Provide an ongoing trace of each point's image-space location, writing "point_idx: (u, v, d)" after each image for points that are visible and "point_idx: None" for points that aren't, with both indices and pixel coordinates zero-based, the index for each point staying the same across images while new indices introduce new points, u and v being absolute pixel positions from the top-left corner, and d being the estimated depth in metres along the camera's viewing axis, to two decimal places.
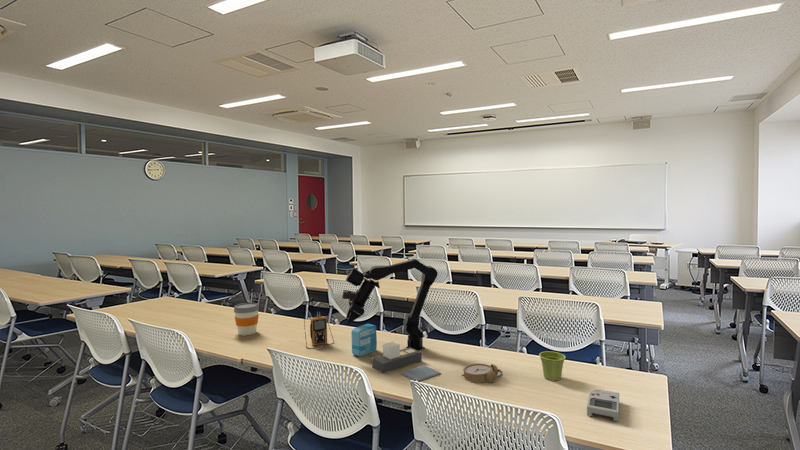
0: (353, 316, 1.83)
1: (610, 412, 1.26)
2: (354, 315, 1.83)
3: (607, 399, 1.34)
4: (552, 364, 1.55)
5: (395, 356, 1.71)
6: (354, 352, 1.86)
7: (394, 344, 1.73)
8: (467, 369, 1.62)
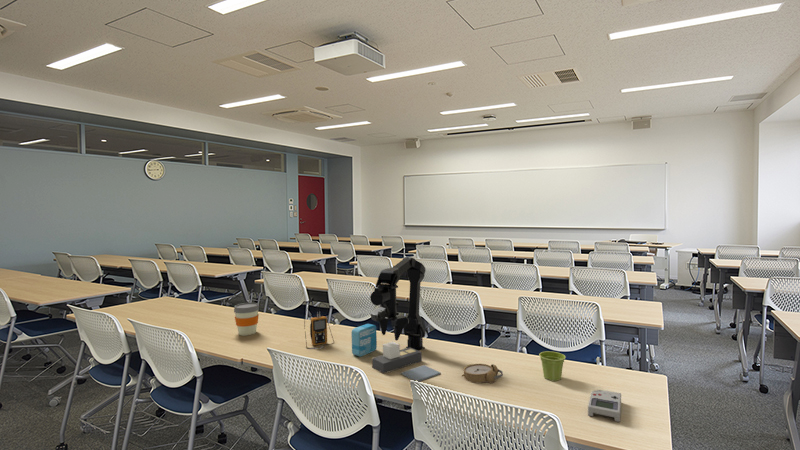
0: (398, 329, 1.68)
1: (612, 413, 1.26)
2: (399, 328, 1.68)
3: (609, 399, 1.33)
4: (552, 364, 1.55)
5: (395, 356, 1.71)
6: (354, 352, 1.86)
7: (394, 344, 1.73)
8: (467, 369, 1.62)
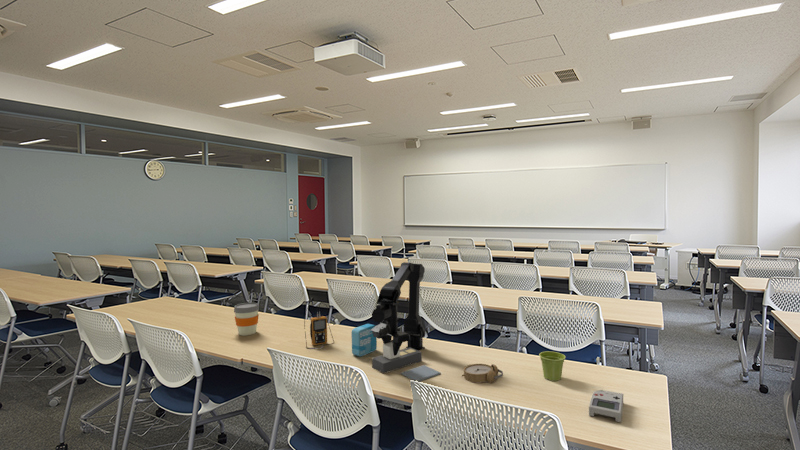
0: (397, 345, 1.70)
1: (612, 413, 1.26)
2: (397, 343, 1.70)
3: (610, 400, 1.33)
4: (552, 364, 1.55)
5: (395, 356, 1.71)
6: (354, 352, 1.86)
7: None
8: (467, 369, 1.62)
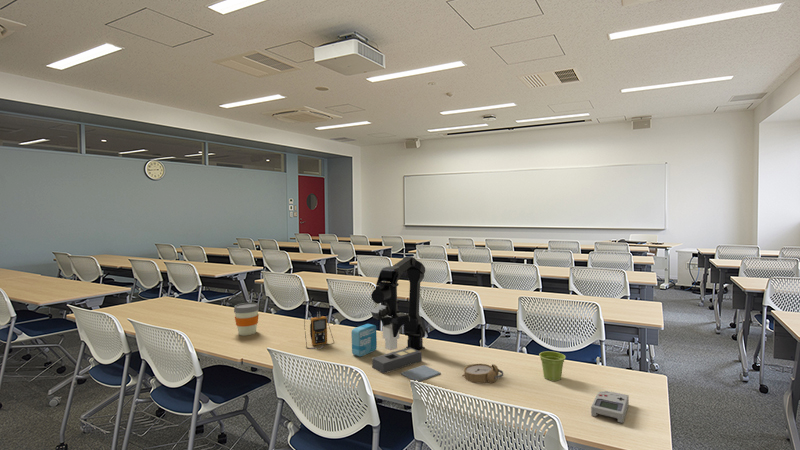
0: (397, 326, 1.70)
1: (615, 414, 1.26)
2: (397, 325, 1.70)
3: (614, 400, 1.33)
4: (552, 364, 1.55)
5: (395, 338, 1.71)
6: (354, 352, 1.86)
7: None
8: (468, 369, 1.62)
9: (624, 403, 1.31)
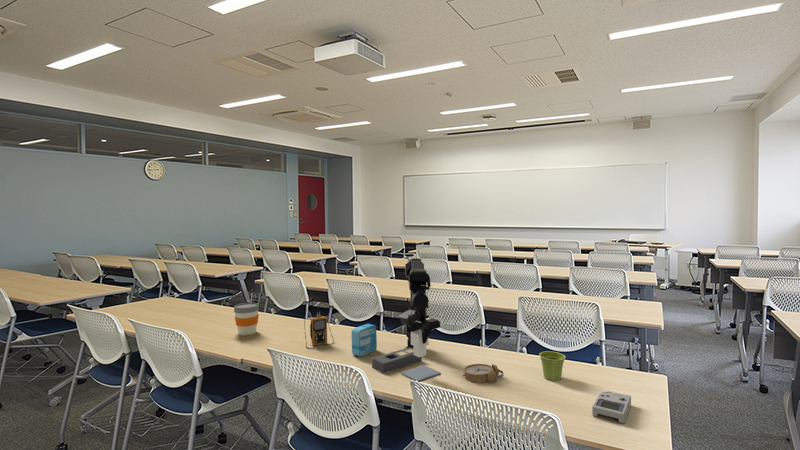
0: (426, 332, 1.61)
1: (616, 414, 1.26)
2: (427, 331, 1.61)
3: (616, 401, 1.32)
4: (552, 364, 1.55)
5: (424, 344, 1.62)
6: (354, 352, 1.86)
7: None
8: (468, 369, 1.62)
9: (626, 404, 1.30)
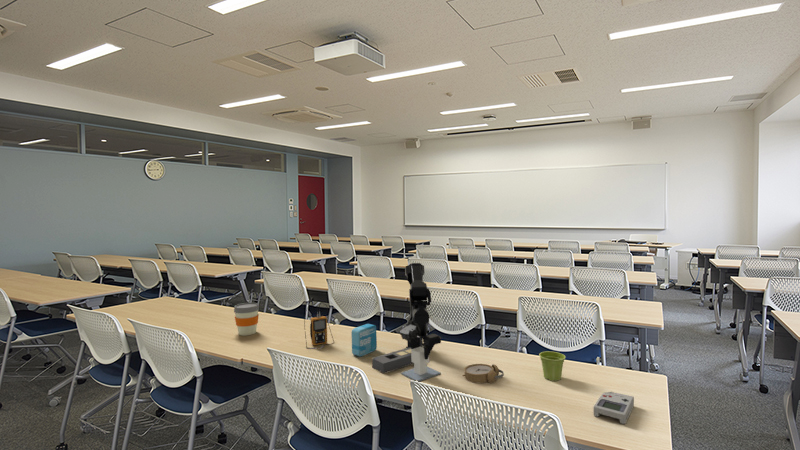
0: (428, 348, 1.61)
1: (617, 414, 1.25)
2: (429, 346, 1.61)
3: (618, 401, 1.32)
4: (552, 364, 1.55)
5: (424, 362, 1.63)
6: (354, 352, 1.86)
7: (423, 349, 1.64)
8: (468, 369, 1.62)
9: (628, 404, 1.30)
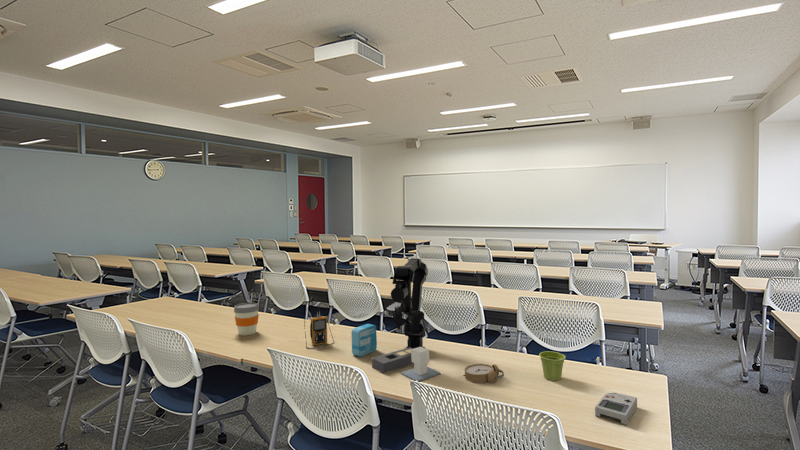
0: (414, 324, 1.74)
1: (618, 415, 1.25)
2: (415, 322, 1.74)
3: (620, 402, 1.31)
4: (552, 364, 1.55)
5: (424, 362, 1.63)
6: (354, 352, 1.86)
7: (423, 349, 1.64)
8: (468, 369, 1.62)
9: (630, 405, 1.29)
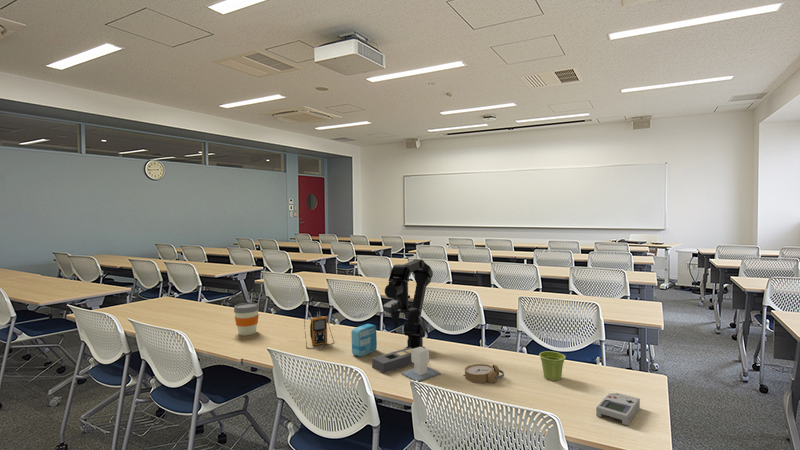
0: (411, 321, 1.77)
1: (619, 415, 1.25)
2: (411, 320, 1.77)
3: (622, 403, 1.31)
4: (552, 364, 1.55)
5: (424, 362, 1.63)
6: (354, 352, 1.86)
7: (423, 349, 1.64)
8: (468, 369, 1.62)
9: (632, 406, 1.29)
